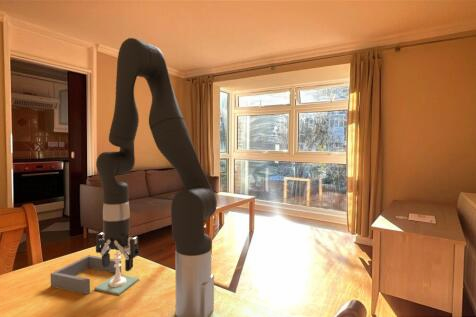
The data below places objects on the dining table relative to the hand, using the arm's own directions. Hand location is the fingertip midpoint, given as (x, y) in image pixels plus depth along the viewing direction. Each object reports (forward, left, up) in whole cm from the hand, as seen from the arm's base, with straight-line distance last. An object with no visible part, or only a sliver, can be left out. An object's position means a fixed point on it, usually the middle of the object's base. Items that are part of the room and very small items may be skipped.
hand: (117, 268), depth 85 cm
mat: (0, 0, -5) cm, 5 cm away
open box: (+11, 0, -5) cm, 12 cm away
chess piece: (0, 0, -5) cm, 5 cm away
